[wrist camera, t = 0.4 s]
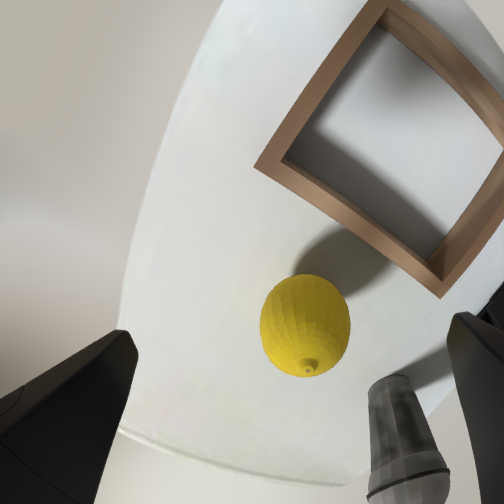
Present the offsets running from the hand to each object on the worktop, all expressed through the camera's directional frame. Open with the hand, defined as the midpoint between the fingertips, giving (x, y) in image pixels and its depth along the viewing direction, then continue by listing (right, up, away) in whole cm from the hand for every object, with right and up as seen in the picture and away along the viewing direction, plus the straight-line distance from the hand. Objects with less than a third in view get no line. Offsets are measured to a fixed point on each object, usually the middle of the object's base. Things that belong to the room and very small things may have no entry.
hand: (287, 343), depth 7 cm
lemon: (+3, 0, +14) cm, 15 cm away
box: (+9, +9, +9) cm, 16 cm away
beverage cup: (+13, -12, +19) cm, 25 cm away
